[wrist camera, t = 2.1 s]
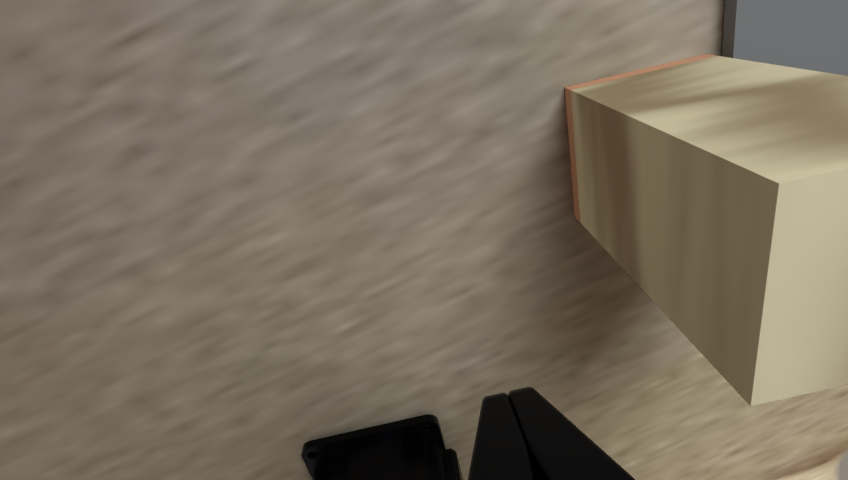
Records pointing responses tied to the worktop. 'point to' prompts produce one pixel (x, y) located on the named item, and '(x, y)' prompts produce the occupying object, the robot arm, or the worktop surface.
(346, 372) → the worktop surface
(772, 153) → the maple block
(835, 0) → the rubber mat
